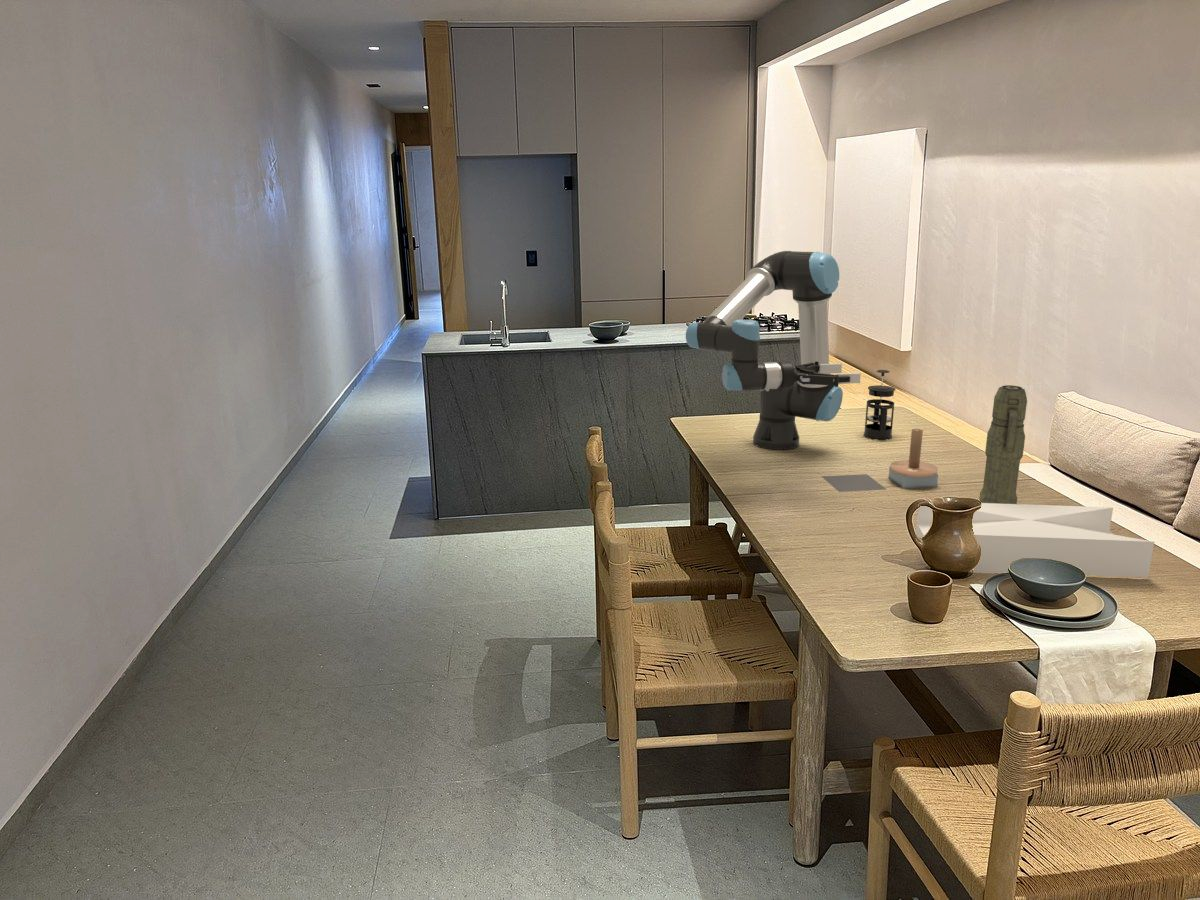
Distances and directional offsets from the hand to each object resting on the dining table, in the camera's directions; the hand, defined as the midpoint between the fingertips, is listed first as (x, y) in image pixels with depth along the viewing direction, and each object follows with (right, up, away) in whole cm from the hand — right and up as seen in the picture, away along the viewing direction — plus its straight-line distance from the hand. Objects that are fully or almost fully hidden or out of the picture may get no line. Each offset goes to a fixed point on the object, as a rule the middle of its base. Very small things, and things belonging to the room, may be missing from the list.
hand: (850, 373), depth 262 cm
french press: (+24, -17, +54) cm, 61 cm away
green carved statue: (+31, -40, -23) cm, 56 cm away
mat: (+2, -32, +5) cm, 32 cm away
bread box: (+28, -47, -45) cm, 71 cm away
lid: (+19, -28, +4) cm, 34 cm away
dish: (+19, -31, +6) cm, 37 cm away
